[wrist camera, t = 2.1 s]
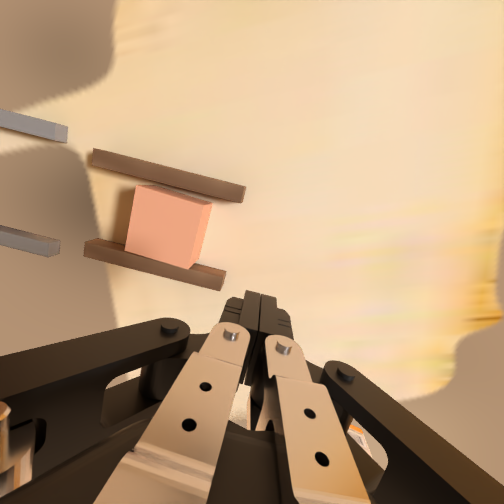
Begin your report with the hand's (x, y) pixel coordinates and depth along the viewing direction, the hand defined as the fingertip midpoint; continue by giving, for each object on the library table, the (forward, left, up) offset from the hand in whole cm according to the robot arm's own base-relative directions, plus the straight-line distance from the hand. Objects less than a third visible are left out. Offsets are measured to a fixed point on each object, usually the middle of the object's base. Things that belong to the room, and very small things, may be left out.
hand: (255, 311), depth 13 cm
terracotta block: (0, -9, -15) cm, 17 cm away
